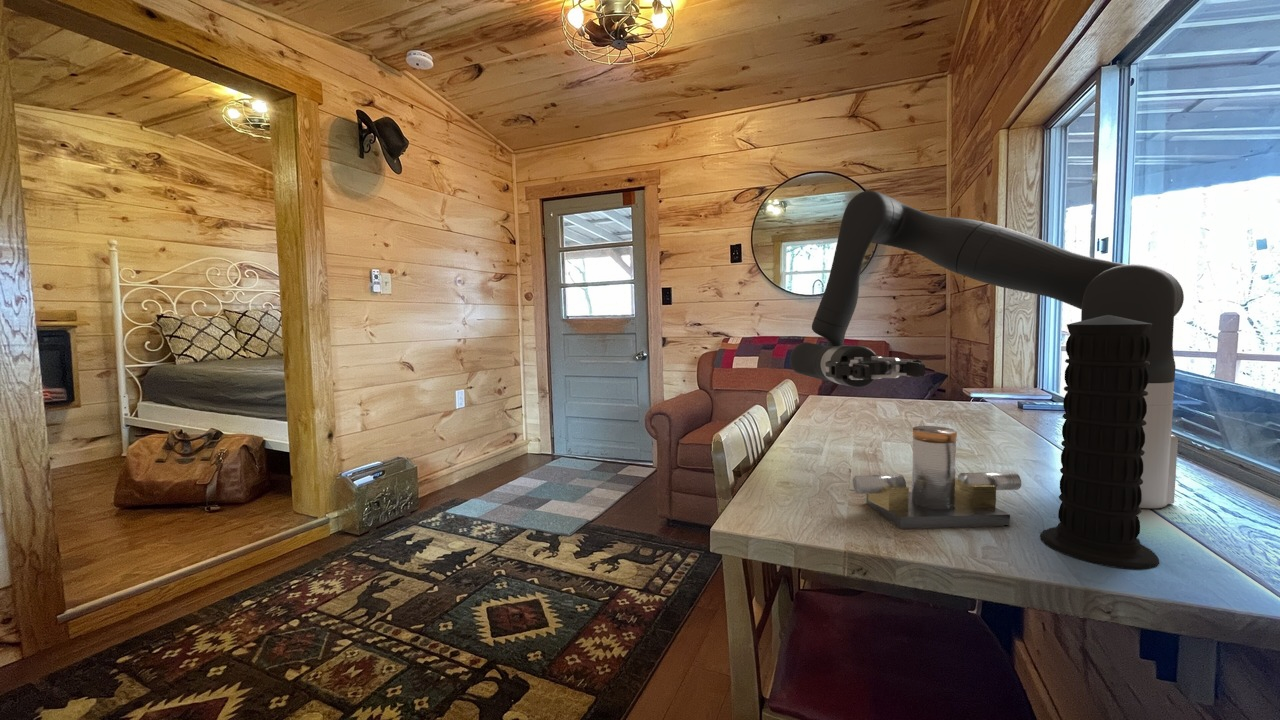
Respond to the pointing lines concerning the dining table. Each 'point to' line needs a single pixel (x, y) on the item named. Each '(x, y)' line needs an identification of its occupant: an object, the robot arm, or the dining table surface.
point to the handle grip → (1103, 444)
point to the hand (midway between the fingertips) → (894, 371)
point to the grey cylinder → (934, 467)
